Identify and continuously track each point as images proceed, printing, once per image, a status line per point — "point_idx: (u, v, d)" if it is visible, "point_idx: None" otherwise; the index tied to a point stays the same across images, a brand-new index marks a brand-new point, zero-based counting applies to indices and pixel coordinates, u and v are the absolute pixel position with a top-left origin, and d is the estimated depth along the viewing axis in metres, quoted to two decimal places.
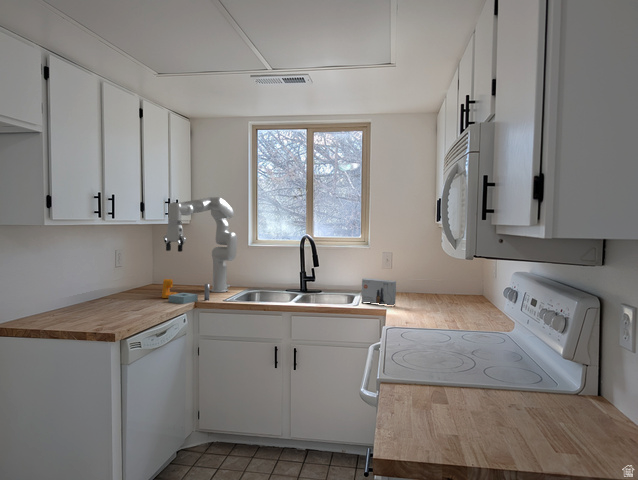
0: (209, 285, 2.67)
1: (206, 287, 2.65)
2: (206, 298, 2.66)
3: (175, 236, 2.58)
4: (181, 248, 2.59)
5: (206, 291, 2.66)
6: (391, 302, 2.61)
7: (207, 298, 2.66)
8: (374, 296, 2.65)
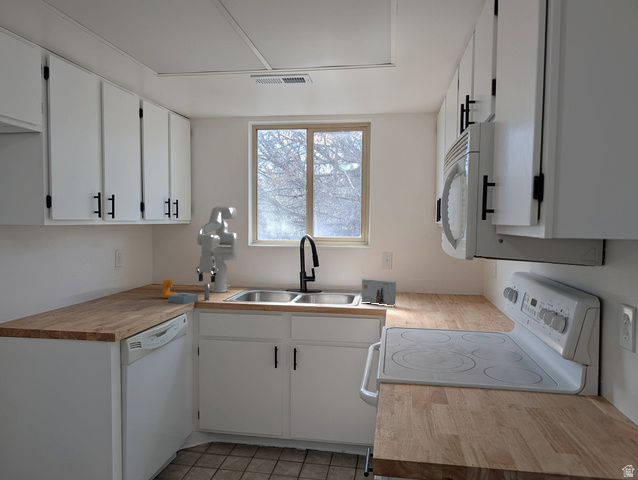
0: (209, 285, 2.67)
1: (206, 287, 2.65)
2: (206, 298, 2.66)
3: (208, 267, 2.63)
4: (214, 279, 2.64)
5: (206, 291, 2.66)
6: (391, 302, 2.61)
7: (207, 298, 2.66)
8: (374, 296, 2.65)
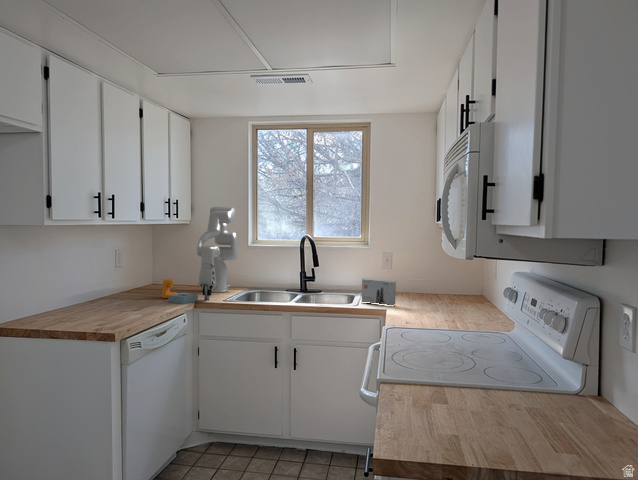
0: None
1: (206, 287, 2.65)
2: (206, 298, 2.66)
3: (208, 279, 2.63)
4: (210, 292, 2.66)
5: (206, 291, 2.66)
6: (391, 302, 2.61)
7: (207, 298, 2.66)
8: (374, 296, 2.65)
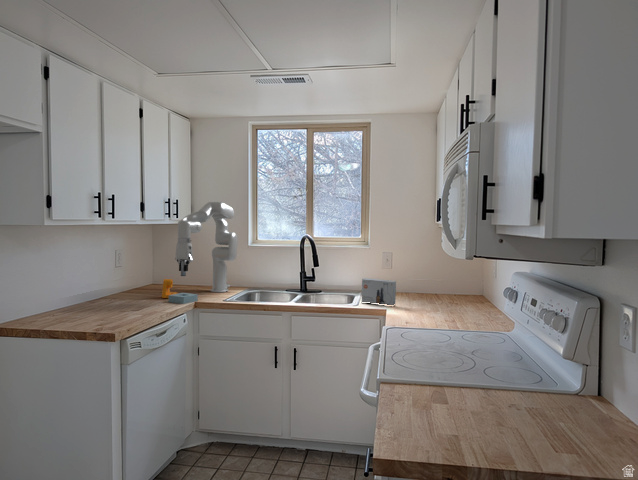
0: None
1: (182, 262, 2.59)
2: (182, 274, 2.59)
3: (185, 254, 2.57)
4: (187, 268, 2.59)
5: (182, 266, 2.59)
6: (391, 302, 2.61)
7: (183, 274, 2.59)
8: (374, 296, 2.65)
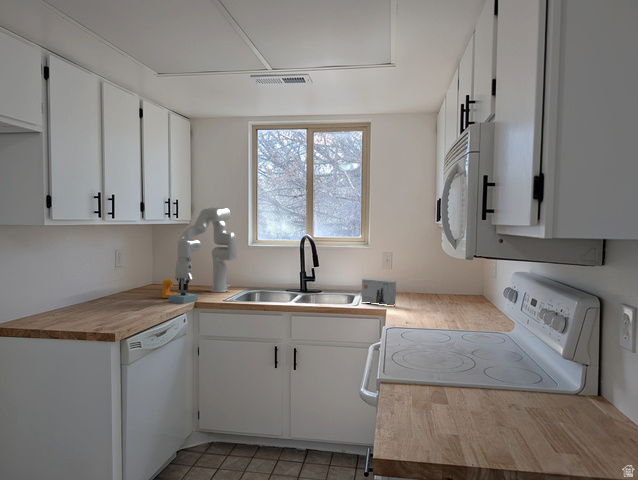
0: None
1: (182, 281, 2.59)
2: (182, 293, 2.59)
3: (184, 273, 2.57)
4: (186, 287, 2.60)
5: (182, 285, 2.59)
6: (391, 302, 2.61)
7: (183, 293, 2.60)
8: (374, 296, 2.65)
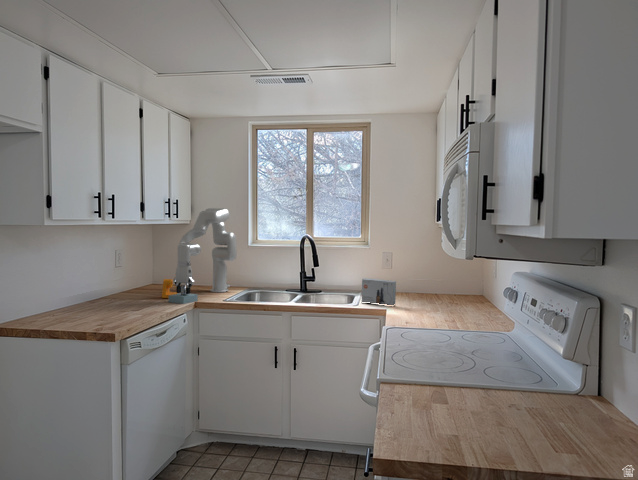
0: (185, 286, 2.61)
1: (182, 288, 2.60)
2: None
3: (184, 278, 2.57)
4: (189, 290, 2.59)
5: (182, 292, 2.60)
6: (391, 302, 2.61)
7: None
8: (374, 296, 2.65)
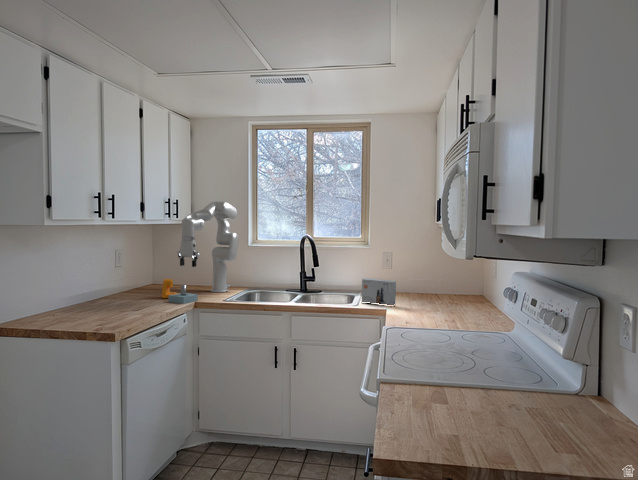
0: (185, 286, 2.61)
1: (182, 288, 2.60)
2: None
3: (189, 252, 2.61)
4: (195, 263, 2.62)
5: (182, 292, 2.60)
6: (391, 302, 2.61)
7: None
8: (374, 296, 2.65)
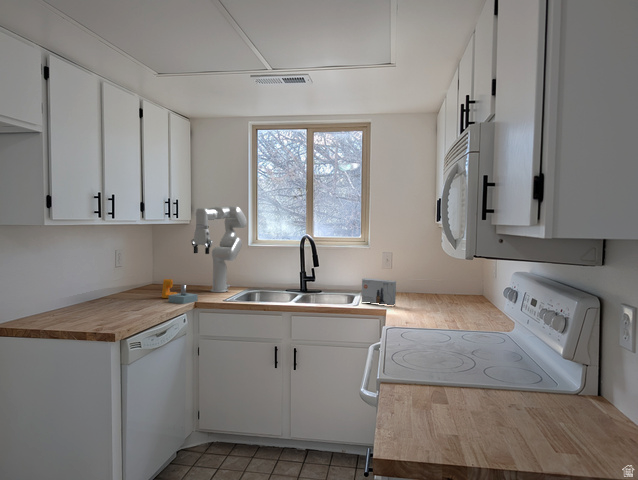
0: (185, 286, 2.61)
1: (182, 288, 2.60)
2: None
3: (202, 239, 2.75)
4: (208, 251, 2.76)
5: (182, 292, 2.60)
6: (391, 302, 2.61)
7: None
8: (374, 296, 2.65)
